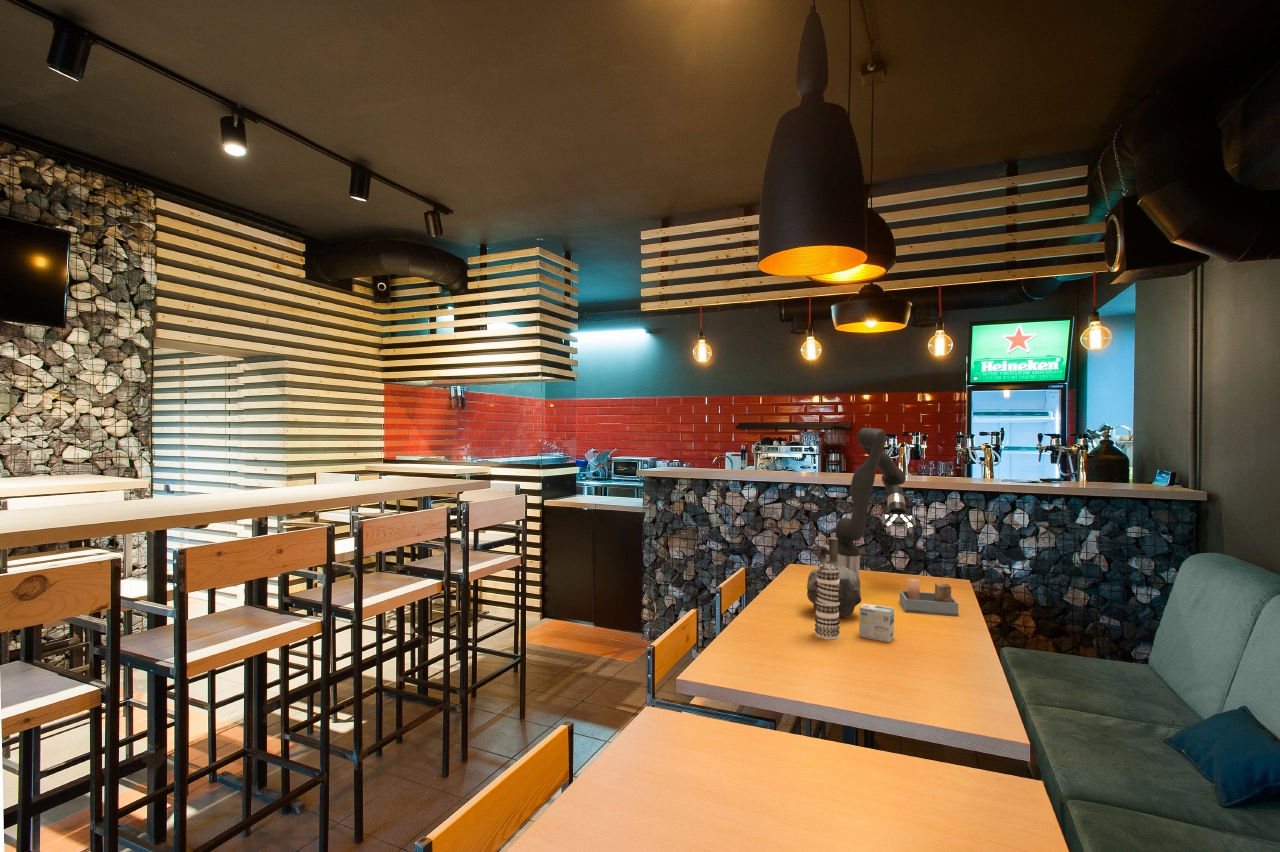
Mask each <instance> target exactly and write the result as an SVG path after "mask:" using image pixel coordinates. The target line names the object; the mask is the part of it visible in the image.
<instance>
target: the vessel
mask: <svg viewBox="0 0 1280 852" xmlns="http://www.w3.org/2000/svg"><path fill="white" fill-rule="evenodd" d="M837 544H838V538H836V537H828V544H823V545H822V546H821V548H820V551H819V566H820V565H821V564H832V565H835V566H837V568H838V569H839V570H840V571H839V579H840V583H839V584H840V585H841V587H840V588H839V589H840V590H841V592H839V593H838V594H839V595H840V596H841V597H840V598H839V599H840V600H841V601H840V605H839V610H838V611H839V617H840V618H845V617H849V616H851V615H853V613H854V611H855V608H856V606H858V605H859V604H861V602H862V596H861V580H860V576H859V577H858V576H857V574H856V573H855V572H853V571H851V570H849V569H848V568H846V567H844V566H841V565H839V563H838V549H837ZM827 554H828V555H829V560H828V562H827ZM819 566H818V567H817V568H819ZM817 568H816V569H812V570H811V571H810V573H809V575H808V578H807V583H806V584H807V585H806V588H807V593H806V595H807V599H808V600H809V602H811V603H812V604H813V610H814V611H815V612H816V609H817V603H816V600H815V598H816V597H817V596H816V595H815V592H816V591H815V588H816V587H817V586H815V582H816V581H817ZM817 585H818V584H817Z"/></svg>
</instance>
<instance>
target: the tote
mask: <svg viewBox="0 0 1280 852" xmlns="http://www.w3.org/2000/svg"><path fill="white" fill-rule="evenodd" d="M899 603H900V606H901V608H902V609H903V611H904V612H905V613H913V614H914V613H915V614H924V615H925V614H927V615H936V616H937V615H940V616H950V617H959V603H958V602H957V600H956V599H955V597H953V596H952V595H951V603H950V602H937V601H935V592H925V591H920V600H910V599H907V590H899Z"/></svg>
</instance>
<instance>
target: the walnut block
mask: <svg viewBox="0 0 1280 852" xmlns="http://www.w3.org/2000/svg"><path fill="white" fill-rule="evenodd" d="M934 593H935V601H937V602H950V603H951V596H952V586H951V585H950V584H949V583H943V582H942V583H941V582H934Z"/></svg>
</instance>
